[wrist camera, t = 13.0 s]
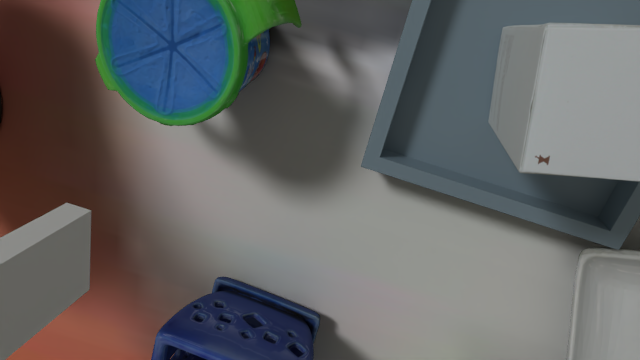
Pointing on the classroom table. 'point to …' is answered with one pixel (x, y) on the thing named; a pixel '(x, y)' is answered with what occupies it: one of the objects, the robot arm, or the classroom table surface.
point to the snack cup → (185, 52)
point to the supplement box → (569, 99)
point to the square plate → (606, 306)
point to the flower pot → (238, 327)
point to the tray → (487, 117)
